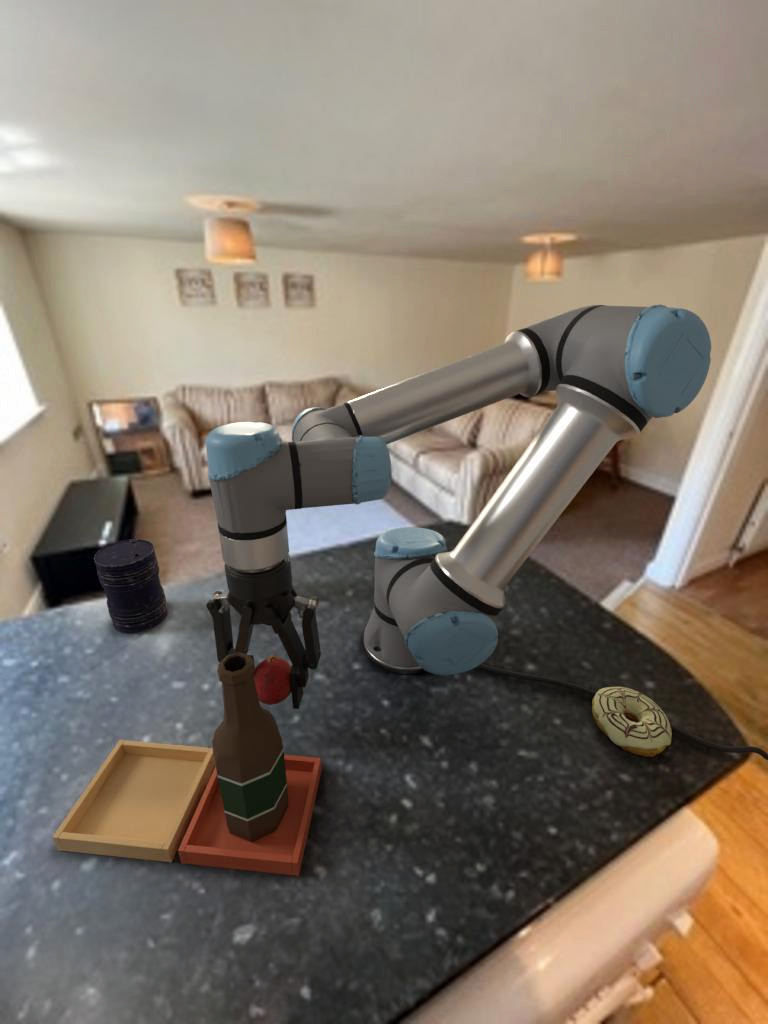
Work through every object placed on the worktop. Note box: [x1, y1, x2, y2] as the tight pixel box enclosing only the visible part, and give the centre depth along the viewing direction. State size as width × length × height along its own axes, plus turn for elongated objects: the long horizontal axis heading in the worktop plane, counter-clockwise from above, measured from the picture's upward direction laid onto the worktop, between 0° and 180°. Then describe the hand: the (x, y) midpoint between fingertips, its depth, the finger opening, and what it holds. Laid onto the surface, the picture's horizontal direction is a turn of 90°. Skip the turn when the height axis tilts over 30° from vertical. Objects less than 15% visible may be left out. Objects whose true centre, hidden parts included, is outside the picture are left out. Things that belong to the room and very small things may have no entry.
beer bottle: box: [211, 652, 288, 842], centre depth 50 cm, size 8×8×24 cm
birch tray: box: [51, 739, 215, 863], centre depth 56 cm, size 13×12×2 cm
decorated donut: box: [591, 686, 673, 758], centre depth 67 cm, size 10×11×4 cm
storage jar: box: [93, 538, 169, 635], centre depth 84 cm, size 10×10×18 cm
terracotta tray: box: [177, 754, 323, 877], centre depth 55 cm, size 13×12×2 cm
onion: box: [253, 653, 292, 706], centre depth 61 cm, size 6×6×8 cm
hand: (275, 698), depth 62 cm, fingers closed on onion, 6 cm apart
